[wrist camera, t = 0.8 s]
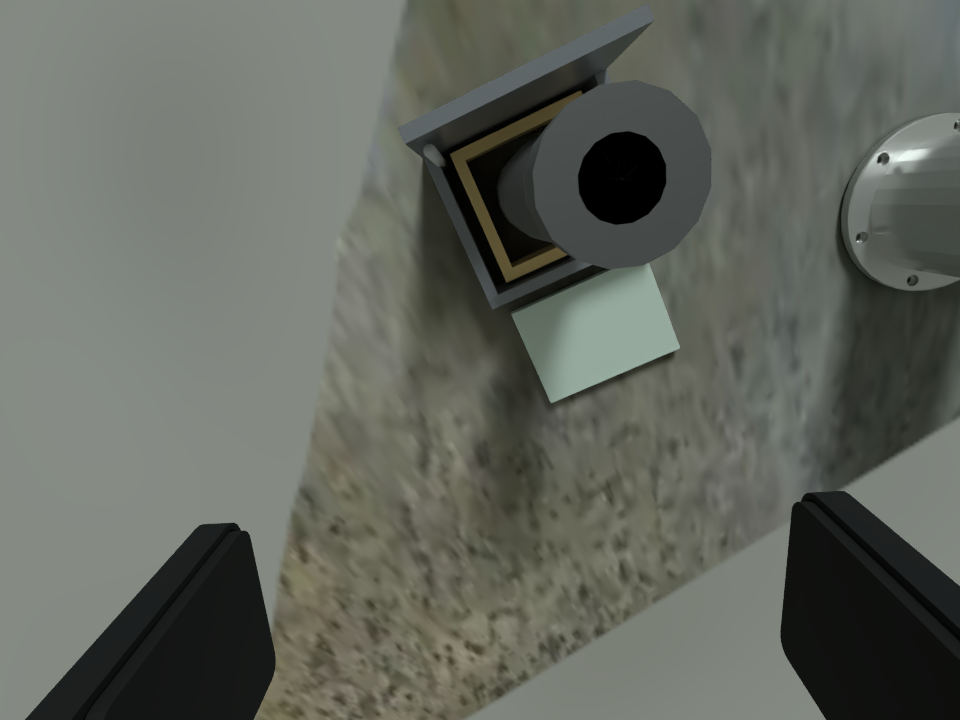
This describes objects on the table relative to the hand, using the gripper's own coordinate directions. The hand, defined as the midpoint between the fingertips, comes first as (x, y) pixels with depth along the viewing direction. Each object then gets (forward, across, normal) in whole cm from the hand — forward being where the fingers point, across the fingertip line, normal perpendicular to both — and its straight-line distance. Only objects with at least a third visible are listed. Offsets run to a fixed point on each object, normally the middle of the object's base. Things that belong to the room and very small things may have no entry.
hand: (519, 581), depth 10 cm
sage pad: (+36, -7, +4) cm, 36 cm away
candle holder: (+36, -3, -6) cm, 36 cm away
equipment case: (+35, -3, -6) cm, 36 cm away
